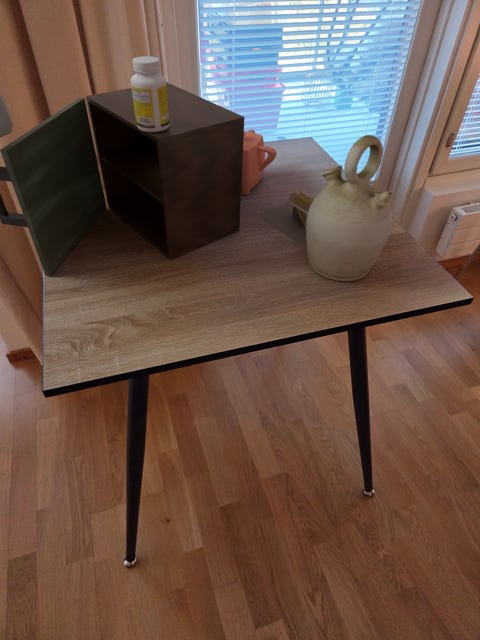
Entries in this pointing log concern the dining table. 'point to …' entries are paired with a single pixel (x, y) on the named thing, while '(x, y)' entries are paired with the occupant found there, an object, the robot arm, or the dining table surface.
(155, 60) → the supplement bottle
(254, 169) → the teapot
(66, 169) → the cupboard door
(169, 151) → the cupboard
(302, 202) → the platform
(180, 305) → the dining table surface
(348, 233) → the jug
